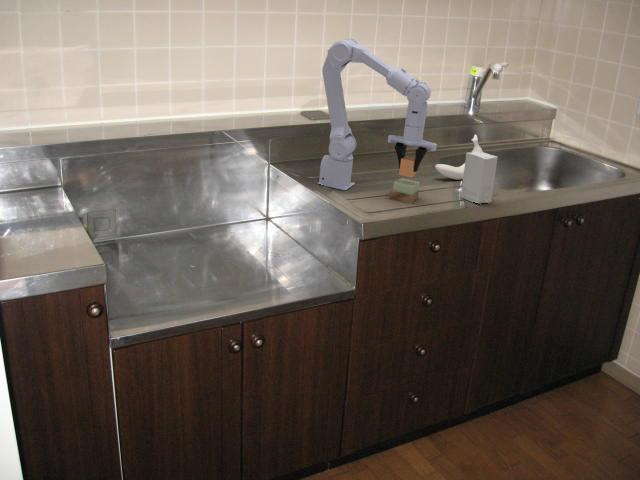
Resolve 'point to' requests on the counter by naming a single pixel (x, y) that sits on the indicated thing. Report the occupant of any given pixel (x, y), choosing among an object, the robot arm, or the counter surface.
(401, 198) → the walnut slab
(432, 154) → the counter surface
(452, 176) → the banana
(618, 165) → the counter surface
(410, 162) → the terracotta block
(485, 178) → the skincare box
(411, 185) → the sage block
